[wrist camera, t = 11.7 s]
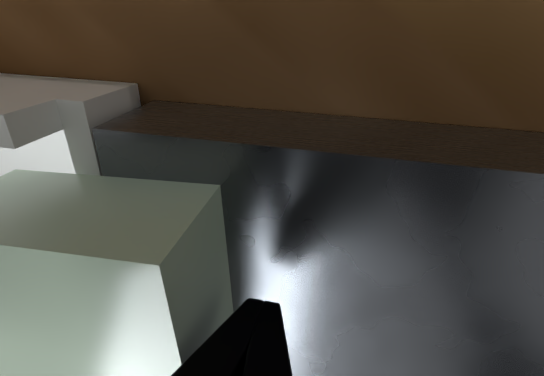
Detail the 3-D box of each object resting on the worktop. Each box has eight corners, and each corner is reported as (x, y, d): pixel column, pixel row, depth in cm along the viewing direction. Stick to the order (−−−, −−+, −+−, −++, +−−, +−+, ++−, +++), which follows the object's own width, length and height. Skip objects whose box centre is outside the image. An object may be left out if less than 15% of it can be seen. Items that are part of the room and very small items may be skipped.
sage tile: (237, 349, 11) (201, 454, 8) (77, 321, 12) (2, 406, 10) (220, 184, 8) (158, 265, 6) (15, 169, 9) (-115, 229, 7)
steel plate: (471, 460, 16) (494, 547, 13) (194, 395, 18) (168, 458, 16) (665, 142, 8) (804, 200, 6) (154, 100, 11) (91, 128, 8)
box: (186, 398, 19) (149, 487, 15) (17, 358, 20) (-51, 428, 17) (137, 83, 11) (34, 117, 7) (-133, 63, 12) (-318, 83, 9)
